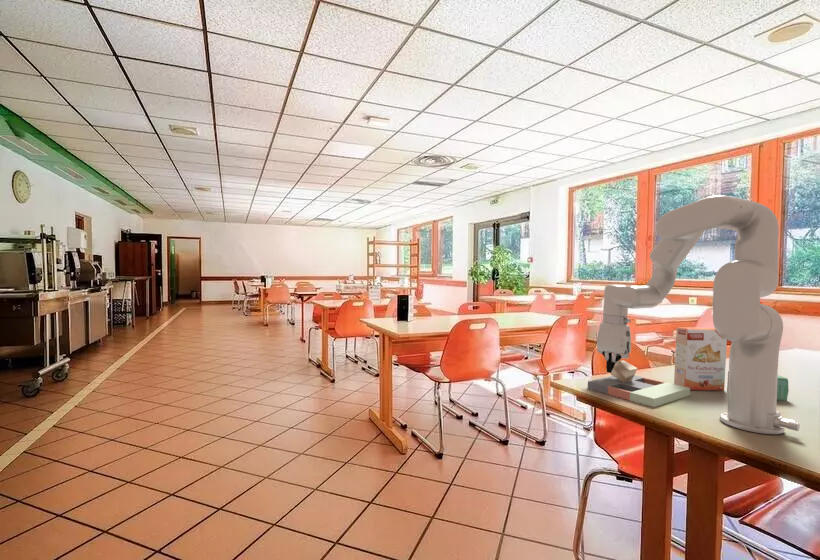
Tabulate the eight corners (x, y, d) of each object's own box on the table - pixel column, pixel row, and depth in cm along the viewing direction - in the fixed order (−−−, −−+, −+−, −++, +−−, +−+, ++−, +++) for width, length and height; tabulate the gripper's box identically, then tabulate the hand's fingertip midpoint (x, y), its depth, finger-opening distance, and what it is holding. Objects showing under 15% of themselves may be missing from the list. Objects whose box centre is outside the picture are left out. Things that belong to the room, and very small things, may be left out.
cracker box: (685, 390, 132) (687, 328, 132) (673, 385, 138) (675, 326, 138) (726, 391, 133) (728, 329, 133) (711, 386, 139) (713, 327, 139)
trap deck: (689, 395, 127) (690, 387, 127) (653, 407, 115) (654, 398, 114) (624, 379, 145) (624, 373, 145) (587, 388, 132) (587, 381, 132)
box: (789, 401, 123) (789, 377, 123) (743, 399, 124) (743, 376, 124) (769, 394, 130) (770, 372, 130) (726, 392, 132) (726, 370, 132)
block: (631, 380, 134) (637, 368, 132) (623, 382, 131) (629, 370, 130) (618, 372, 138) (623, 360, 136) (610, 374, 135) (616, 361, 133)
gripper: (642, 322, 132) (638, 376, 133) (600, 316, 145) (597, 365, 146) (630, 324, 128) (627, 379, 129) (588, 317, 141) (585, 368, 141)
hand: (611, 372), depth 137 cm, fingers closed
